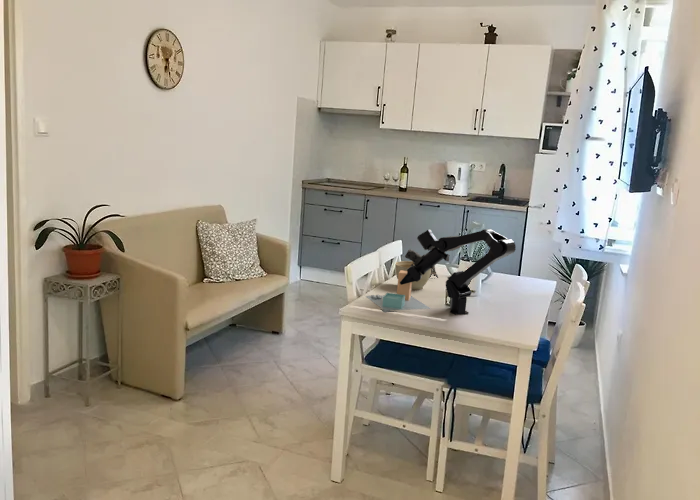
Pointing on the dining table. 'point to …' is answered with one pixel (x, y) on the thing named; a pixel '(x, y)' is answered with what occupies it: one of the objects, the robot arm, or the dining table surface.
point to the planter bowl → (415, 285)
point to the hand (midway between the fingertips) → (401, 282)
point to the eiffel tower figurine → (433, 272)
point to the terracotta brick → (404, 286)
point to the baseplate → (406, 307)
